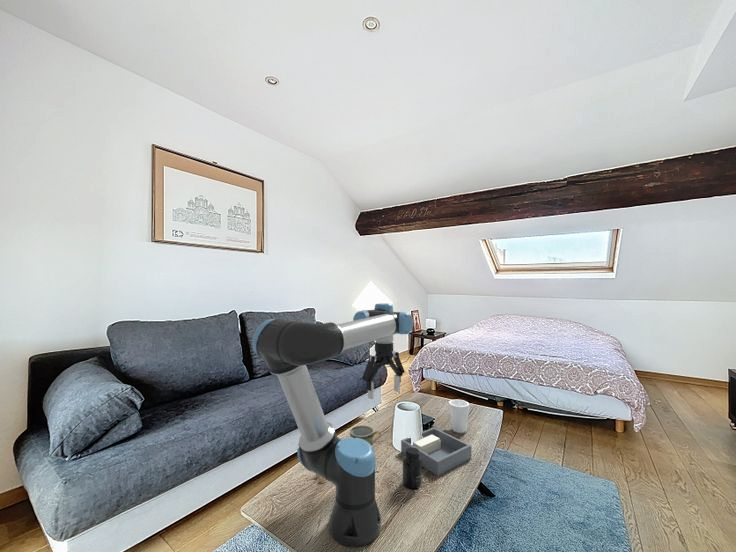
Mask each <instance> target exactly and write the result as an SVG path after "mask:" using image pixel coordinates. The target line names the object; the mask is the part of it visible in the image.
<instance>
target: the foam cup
mask: <svg viewBox="0 0 736 552" xmlns="http://www.w3.org/2000/svg"><path fill="white" fill-rule="evenodd" d="M448 408H449V412H450V413H449V415H450V419H451V422H450V423H451V426H452V431H453V432H455V433H458V434H463V433H466V432H467V425H468V419H469V418H468V417H469V410H470V403H469V402H468V401H466V400H463V399H451V400H449V401H448Z"/></svg>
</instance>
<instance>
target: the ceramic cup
mask: <svg viewBox="0 0 736 552" xmlns="http://www.w3.org/2000/svg"><path fill="white" fill-rule="evenodd" d="M377 434H379V436H378V438H376V439H375V440H374V441H373V438H374V437H375V435H377ZM349 435H350V436H349V437H353V438H360V439H363V440H365V441H367V442H368V443H369V444H370V445H371V446H372V447H373V446H374V444H375V443H376V442H377V441H378V440H379V439H381V435H382V434H381V432H380V431H377V430H376V431H375V430H374V428H373V427H371V426H369V425H364V424H362V425H361V424H360V425H356V426H353V427H351V428H350V429H349Z"/></svg>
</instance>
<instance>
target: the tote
mask: <svg viewBox="0 0 736 552" xmlns="http://www.w3.org/2000/svg"><path fill="white" fill-rule="evenodd" d="M421 432H422V436H423V438H425V437H427V436H429V435H434V436H436V437H438V438H440V441H441V448H440V449H438V450H436V451H433V452H431V453H429V454H427V453H425V452H423V451H422V450H420V449H418V448H417V447H415V446H413V445H411V438H408V437H406V438H403V439H400V453H402V454H403V455H404V456H405V453H406V449H407V448H410V447H413V448H416V449H418V450H419V457H420V458H421V460H422V468H424V469H426V470H428V471H429V472H430V473H432V474H434V475H436V476H438V477H439V476H441V475H444V473H446V472H448V471H450V470H452V469H454V468H455V467H457V466H460V465H461V464H463V463H465V462H466V461H469V460H471V459H472V445H471V444H469V443H467V442H466V441H463V440H461V439H459V438H456V437H455V436H453V435H450V434H448V433H446V432H444V431H442V430H440V429H438V428H436V427H431V428H429V429H427V430H426V429H425V430H423V431H421Z"/></svg>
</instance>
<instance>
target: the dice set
mask: <svg viewBox="0 0 736 552" xmlns="http://www.w3.org/2000/svg"><path fill="white" fill-rule="evenodd" d="M315 479H320V484H323V483H325V480H326V479H324V478H323V477H321V476H319V475H317V474H315Z"/></svg>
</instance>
